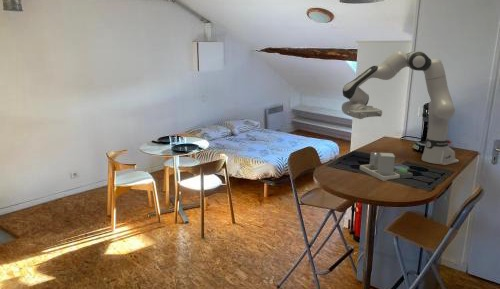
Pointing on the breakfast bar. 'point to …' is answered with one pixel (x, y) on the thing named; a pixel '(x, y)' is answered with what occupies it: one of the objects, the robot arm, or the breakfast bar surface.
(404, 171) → the button
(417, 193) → the breakfast bar surface
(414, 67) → the robot arm
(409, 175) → the button housing
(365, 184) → the breakfast bar surface
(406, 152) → the breakfast bar surface
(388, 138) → the breakfast bar surface
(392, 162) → the supplement box
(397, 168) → the tray
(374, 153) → the cylinder
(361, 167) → the white open frame
